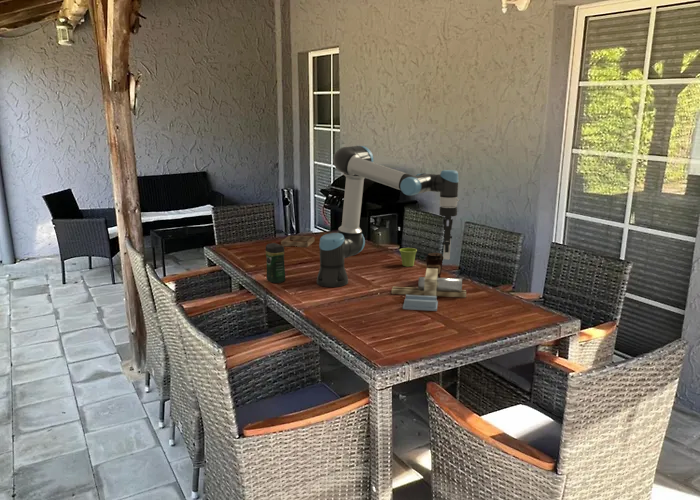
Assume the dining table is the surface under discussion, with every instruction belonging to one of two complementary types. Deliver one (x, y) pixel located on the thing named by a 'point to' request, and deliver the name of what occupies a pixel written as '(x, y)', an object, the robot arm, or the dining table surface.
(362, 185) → the robot arm
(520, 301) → the dining table surface
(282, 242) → the can corral
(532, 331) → the dining table surface
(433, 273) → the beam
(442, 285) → the axle
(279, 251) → the coffee jar
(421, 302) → the v block
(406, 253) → the plant pot
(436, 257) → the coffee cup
